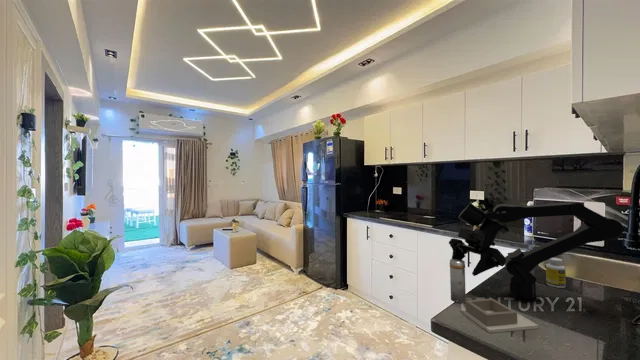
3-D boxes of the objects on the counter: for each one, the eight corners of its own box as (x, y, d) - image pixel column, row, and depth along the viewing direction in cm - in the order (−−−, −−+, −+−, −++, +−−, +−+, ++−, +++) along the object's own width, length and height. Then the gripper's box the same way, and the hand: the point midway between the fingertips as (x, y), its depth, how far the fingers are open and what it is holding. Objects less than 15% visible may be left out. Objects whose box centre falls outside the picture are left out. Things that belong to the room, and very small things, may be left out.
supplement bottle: (561, 289, 94) (560, 261, 94) (543, 284, 99) (542, 258, 99) (569, 286, 96) (568, 259, 97) (551, 281, 101) (550, 256, 101)
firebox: (502, 307, 82) (502, 295, 82) (538, 328, 70) (537, 313, 70) (460, 311, 81) (459, 298, 81) (489, 333, 69) (489, 318, 69)
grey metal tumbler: (460, 296, 91) (459, 258, 91) (469, 302, 86) (468, 262, 86) (447, 297, 90) (446, 259, 90) (455, 303, 86) (454, 263, 86)
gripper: (451, 216, 100) (428, 248, 97) (497, 223, 82) (470, 263, 79) (469, 235, 102) (446, 268, 99) (517, 246, 84) (492, 286, 81)
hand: (461, 270), depth 89 cm, fingers open, 9 cm apart
